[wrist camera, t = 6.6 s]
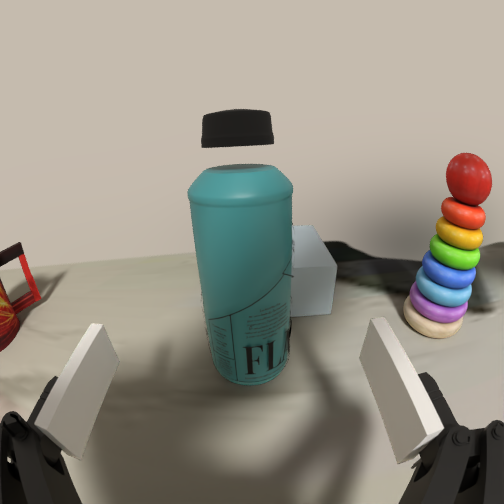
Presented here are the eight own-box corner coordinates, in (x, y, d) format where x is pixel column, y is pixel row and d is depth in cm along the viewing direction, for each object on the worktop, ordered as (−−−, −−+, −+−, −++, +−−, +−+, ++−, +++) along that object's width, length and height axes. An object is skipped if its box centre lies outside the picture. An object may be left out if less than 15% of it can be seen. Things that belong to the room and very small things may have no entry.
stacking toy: (392, 327, 25) (426, 143, 18) (410, 293, 31) (434, 145, 23) (454, 350, 20) (509, 164, 13) (461, 311, 26) (497, 161, 18)
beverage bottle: (244, 411, 18) (219, 100, 10) (199, 364, 23) (161, 118, 14) (304, 370, 22) (320, 109, 13) (255, 334, 26) (246, 114, 18)
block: (330, 314, 29) (337, 265, 26) (220, 319, 29) (214, 270, 26) (310, 264, 39) (312, 225, 37) (228, 267, 40) (225, 228, 37)
